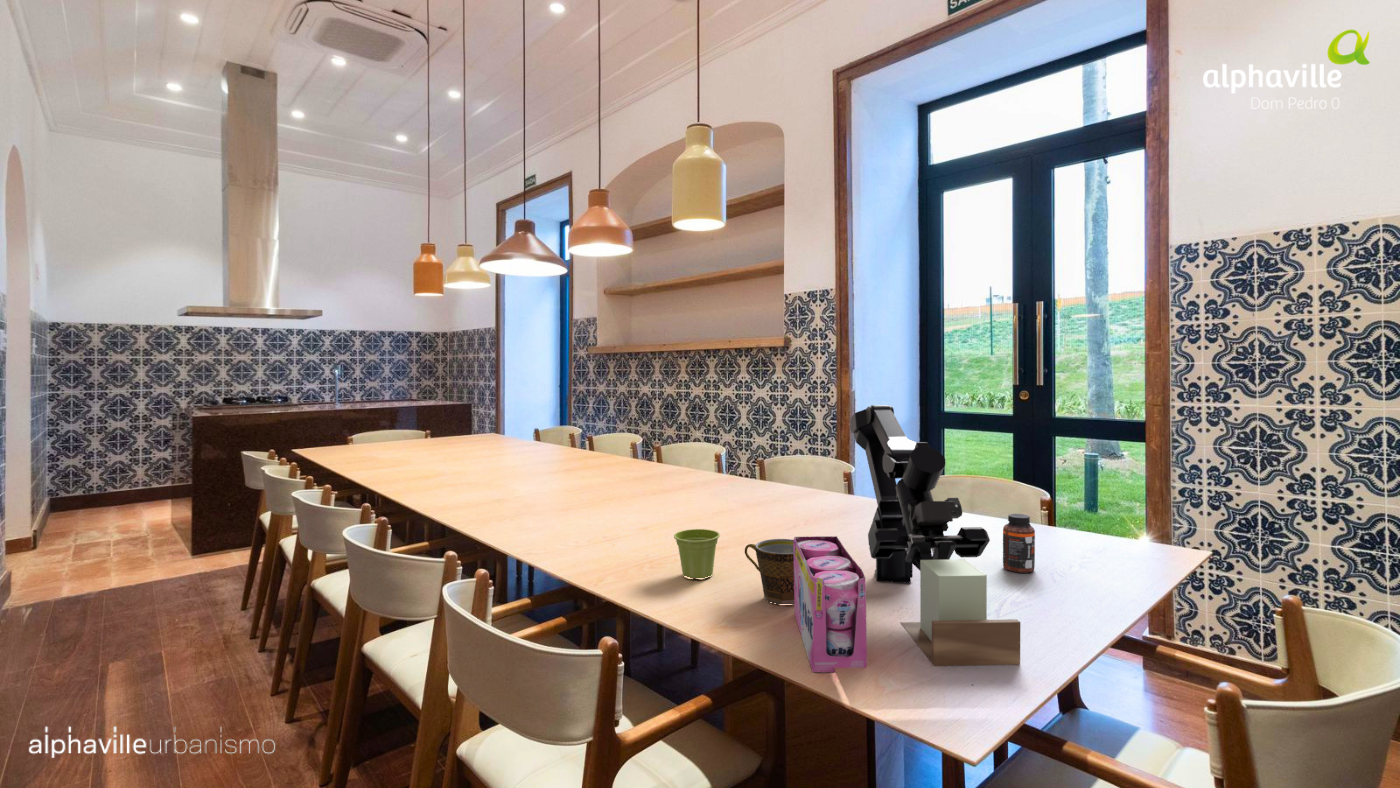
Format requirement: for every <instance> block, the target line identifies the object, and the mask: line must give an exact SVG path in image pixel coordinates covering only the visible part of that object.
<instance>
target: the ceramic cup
mask: <svg viewBox="0 0 1400 788" xmlns="http://www.w3.org/2000/svg"><path fill="white" fill-rule="evenodd" d="M793 543H794V539H790V538H789V539H788V538H773V539H771V538H770V539H765V540H760V541H758V542H756V544H755V543H749V544H747V545H745V548H744V555H745V557H746V558H747V560H749V561H750V562H751V564H752V565H753V566H754V567H755V568H756V570H757V571H758V572H759V574H760V579H761V584H762V590H763V597H764V599H765V598H766V599H765V601H766V602H767V601H768V602H772V603H776V604H794V554H793ZM749 548H751V549H753V550H754V551H755V555H756V560H757V563H756V562H755V560H753V559H752V557H751V556H750V555H749V553H748V550H749ZM768 602H767V603H768Z"/></svg>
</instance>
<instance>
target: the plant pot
mask: <svg viewBox="0 0 1400 788" xmlns="http://www.w3.org/2000/svg"><path fill="white" fill-rule="evenodd" d="M720 536H721V534H720V533H719V532H718V531H716V530H714V529H713V530H712V529H706V528H693V529H692V528H691V529H685V530H680V531H677V532H675V533H674V534H673V538H674V540H675V541H676V545H677V547H678V553H679V559H680V567H681V570H682V571H681V572H682V576H683V575H684V576H687V577H690V578H705V577H708V576H711V575H712V576H713V574H714V566H715V565H714V564H715V555H716V548H717V544H718V539H719V538H720ZM712 576H711V577H712Z"/></svg>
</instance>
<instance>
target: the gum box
mask: <svg viewBox="0 0 1400 788" xmlns="http://www.w3.org/2000/svg"><path fill="white" fill-rule="evenodd" d="M793 540H794V543H793V554H794V605H793V606H794V616H795V619H797V620H796V623H798V624H797V625H798V628H799V633H801V634H800V636H801V639H802V643H803V646H804V648H805V651H806V656H807V659H808V662H809V664H810V669H811V671H812V673H831V674H832V673H833V674H835V673H836V674H837V671H836V670H835V668H836V669H837V668H838V669H844V668H845V669H852V668H853V669H855V668H858V669H860V668H867V665H868V664H867V663H868V657H867V656H868V655H867V654H868V650H867V649H868V648H867V639H868V638H867V600H866V599H867V598H866V597H867V595H866V594H867V593H866V592H867V591H866V578H867V577H866V576H865V574H864V572H863V570H862V568H861V567H860V566H859V564H858V562H856V560H854V559H853V558H852V556H851V555H850V553H849V552H848V551H847V549H846V548H845V547H844V545H843V543H842V542H841V540H840V539H839V538H838V536H835V535H834V536H831V535H830V536H828V535H827V536H821V535H820V536H794V538H793Z"/></svg>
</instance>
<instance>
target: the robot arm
mask: <svg viewBox="0 0 1400 788" xmlns="http://www.w3.org/2000/svg"><path fill="white" fill-rule="evenodd" d="M849 422H850V423H849V427H850V428H849V429H850V431H851V432H850V433H852V434H853V437H854V440H855V443H856V444H857V445H858V446H859V447H861V449H863V450H864V451H865V455H866V459H867V464H868V467H869V473H870V477H871V481H872V486H873V490H874V495H875V499H876V503H877V508H876V511H875V513H874V516H873V519H872V521H871V522H872V523H871V525H870V528H869V531H868V532H867V538H868V539H867V540H868V546H869V554H870V557H871V559H874V560H875V570H874V574H875V579H876V582H878V583H879V582H880V583H895V584H896V583H897V584H898V583H899V584H911V583H912V578H913V566H914V567H915V568H916V569H918V571H920V560H951V557H952V556H953V554H954V552H955V554H956V555H957V556H958V557H960V558H961V559H963V558H978V557H980V556H982V554H983V553H984V551H985V549H986V547H988V544H989V542H990V541H991V539H990V537H989V534H988V531H987V530H986V529H985V528H984V527H981V526H978V527H977V526H971V527H970V526H968V527H966V526H965V527H964V526H962V527H960V528H959V530H958V533H957V534H956V535H944V532H947V531H948V529H949V524H948V523H950V522H951V523H952V522H953V521H954V520H955V519H959V518H961V517H962V516H963V508H962V507H963V506H962V505H961V502H960V499H959V497H947V498H946V499H944V500H936V501H935V500H934V498H933V495H932V491H933V490H934V489H936V487H937V485H938V482H939V480H940V478H941V475H942V473H943V470H944V469H945V467H946V458H945V456H944V455H943V454H942V453H941V452H940V451H939V450H937V449H936V448H933V447H930V445H929V443H928V441H926V442H925V441H923V442H921V441H919V442H916V441H913V440H911V439H908V437H907V436H906V433H905V432H904V430H903V428H902V427H901V424H900V423H899V421H898V419H897V417H896V415H895V409H894V407H893V406H892V405H889V404H874V405H873V404H871V405H869V406H867V407H866V408H865V409H862V410H859V411H856V412H854V413H853V415H852V416H851V417H850V421H849ZM897 479H899V480H898V481H896V480H897ZM953 519H954V520H953Z"/></svg>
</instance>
